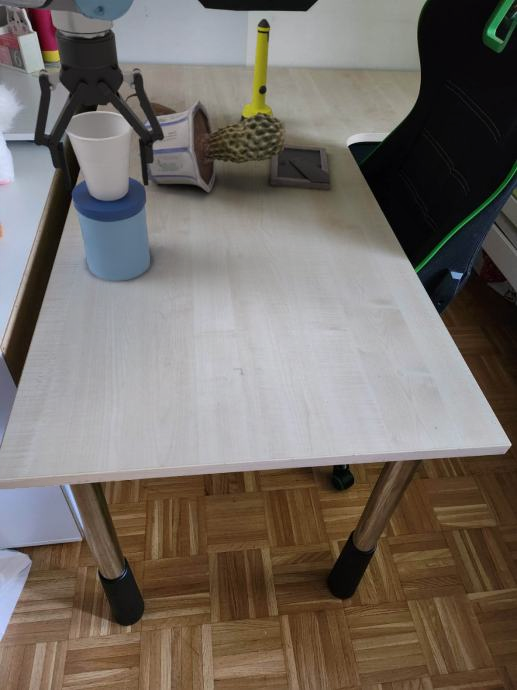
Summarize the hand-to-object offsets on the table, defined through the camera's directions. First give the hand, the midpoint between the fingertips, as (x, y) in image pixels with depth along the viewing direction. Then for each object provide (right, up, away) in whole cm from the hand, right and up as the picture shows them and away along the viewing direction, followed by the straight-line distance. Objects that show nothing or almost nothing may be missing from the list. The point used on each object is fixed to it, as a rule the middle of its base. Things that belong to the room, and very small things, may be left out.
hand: (107, 183), depth 83 cm
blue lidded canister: (-1, -11, +11) cm, 15 cm away
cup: (0, -1, +1) cm, 2 cm away
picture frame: (+34, +16, +41) cm, 55 cm away
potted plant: (+14, +10, +33) cm, 37 cm away
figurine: (-3, +31, +51) cm, 60 cm away
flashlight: (+24, +33, +57) cm, 70 cm away
